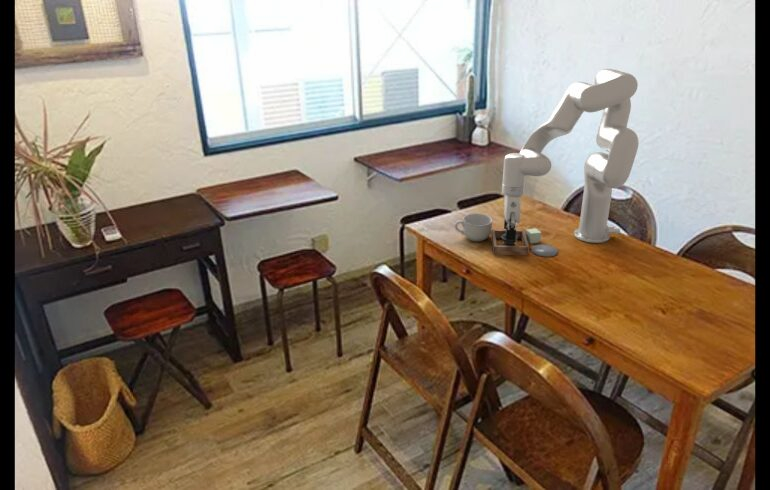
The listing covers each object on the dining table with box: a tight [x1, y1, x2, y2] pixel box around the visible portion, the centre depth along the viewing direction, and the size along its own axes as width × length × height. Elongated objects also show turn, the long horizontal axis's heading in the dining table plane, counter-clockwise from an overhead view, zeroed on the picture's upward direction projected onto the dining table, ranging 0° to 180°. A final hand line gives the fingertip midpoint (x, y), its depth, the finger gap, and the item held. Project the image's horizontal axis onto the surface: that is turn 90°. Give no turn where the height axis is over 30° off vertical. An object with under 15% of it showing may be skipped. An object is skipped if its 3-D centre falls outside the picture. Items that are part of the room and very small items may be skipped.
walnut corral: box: [490, 229, 530, 256], centre depth 207 cm, size 12×15×3 cm
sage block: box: [525, 228, 542, 244], centre depth 211 cm, size 4×4×4 cm
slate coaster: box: [530, 243, 559, 258], centre depth 203 cm, size 9×9×1 cm
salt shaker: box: [501, 220, 518, 246], centre depth 205 cm, size 6×6×12 cm
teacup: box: [454, 212, 493, 242], centre depth 213 cm, size 14×11×8 cm
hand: (509, 234), depth 206 cm, fingers open, 9 cm apart
